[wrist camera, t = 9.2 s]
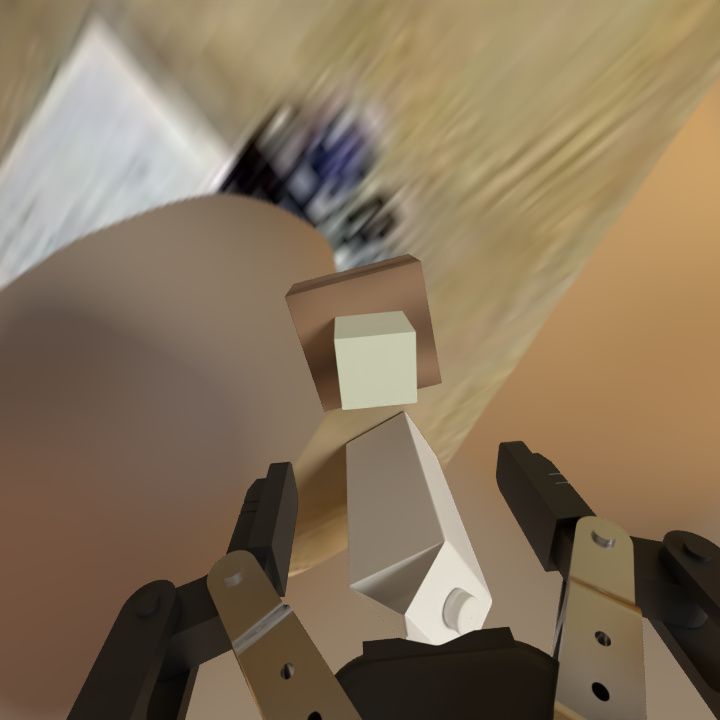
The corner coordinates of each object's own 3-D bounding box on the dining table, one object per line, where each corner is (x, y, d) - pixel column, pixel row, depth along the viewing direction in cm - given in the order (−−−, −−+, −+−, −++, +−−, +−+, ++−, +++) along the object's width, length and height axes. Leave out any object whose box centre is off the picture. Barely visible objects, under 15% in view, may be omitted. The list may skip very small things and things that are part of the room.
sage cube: (335, 316, 25) (334, 339, 21) (402, 310, 26) (415, 331, 21) (342, 377, 27) (342, 410, 23) (404, 371, 27) (417, 402, 23)
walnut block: (293, 283, 29) (285, 296, 25) (408, 253, 29) (420, 261, 24) (326, 384, 33) (324, 411, 29) (427, 359, 33) (441, 383, 28)
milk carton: (380, 486, 38) (413, 715, 21) (345, 442, 36) (348, 662, 18) (436, 456, 37) (522, 674, 19) (404, 409, 34) (469, 610, 17)
